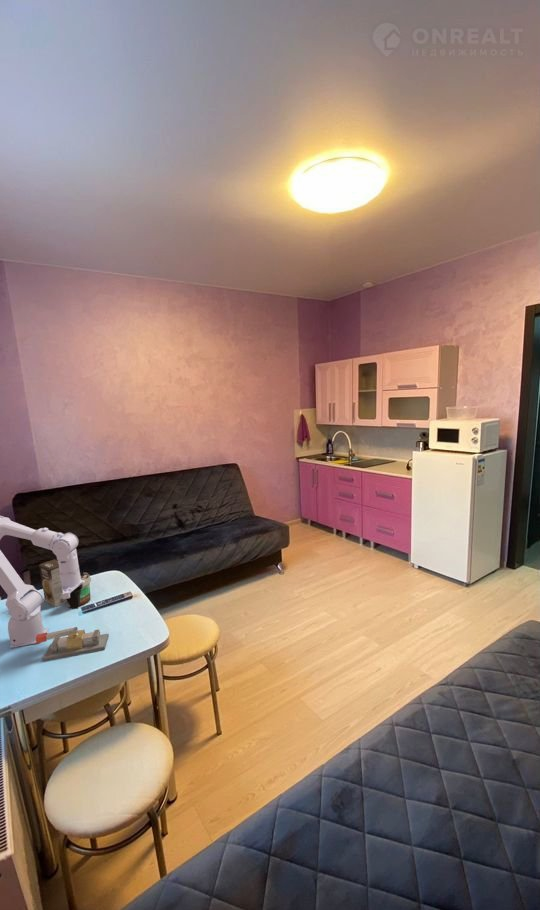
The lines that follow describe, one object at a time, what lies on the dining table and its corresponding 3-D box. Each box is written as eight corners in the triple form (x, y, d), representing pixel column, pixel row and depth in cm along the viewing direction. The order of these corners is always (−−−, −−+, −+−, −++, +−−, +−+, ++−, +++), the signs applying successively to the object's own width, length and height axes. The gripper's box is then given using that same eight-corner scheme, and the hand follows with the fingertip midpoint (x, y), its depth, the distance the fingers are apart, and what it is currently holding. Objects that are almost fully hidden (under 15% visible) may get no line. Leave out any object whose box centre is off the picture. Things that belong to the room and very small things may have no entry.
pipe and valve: (51, 654, 121) (49, 643, 120) (55, 646, 125) (54, 634, 125) (98, 645, 124) (97, 634, 123) (101, 637, 128) (99, 626, 128)
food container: (80, 611, 147) (76, 587, 145) (66, 610, 148) (62, 586, 147) (100, 594, 159) (97, 572, 157) (87, 594, 160) (84, 571, 158)
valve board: (43, 661, 119) (42, 658, 119) (50, 646, 126) (50, 644, 126) (104, 649, 123) (104, 646, 123) (108, 636, 130) (108, 633, 130)
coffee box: (44, 601, 156) (38, 564, 153) (60, 594, 161) (54, 558, 159) (55, 607, 151) (49, 569, 148) (71, 600, 156) (65, 562, 153)
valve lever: (78, 632, 125) (77, 625, 125) (77, 635, 123) (76, 629, 123) (38, 640, 122) (37, 634, 121) (36, 644, 120) (35, 638, 119)
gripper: (76, 578, 121) (82, 617, 123) (87, 559, 135) (92, 595, 137) (52, 581, 120) (59, 621, 122) (65, 562, 134) (71, 598, 136)
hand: (75, 608), depth 130 cm, fingers closed
